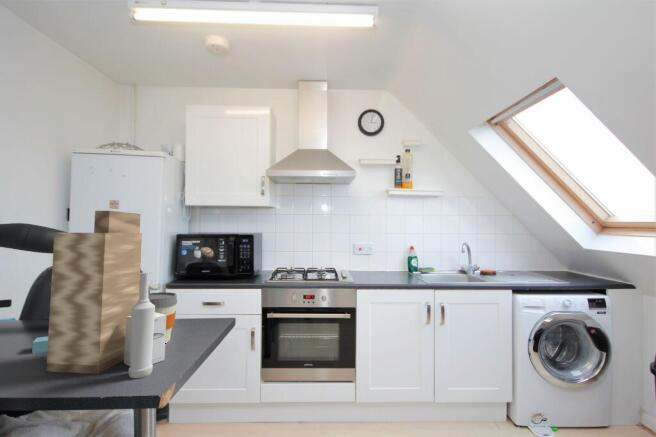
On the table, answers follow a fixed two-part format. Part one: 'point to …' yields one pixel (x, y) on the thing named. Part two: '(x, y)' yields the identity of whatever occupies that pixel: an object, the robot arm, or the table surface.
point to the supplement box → (158, 339)
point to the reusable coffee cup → (165, 308)
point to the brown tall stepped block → (93, 293)
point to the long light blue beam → (40, 345)
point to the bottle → (142, 332)
